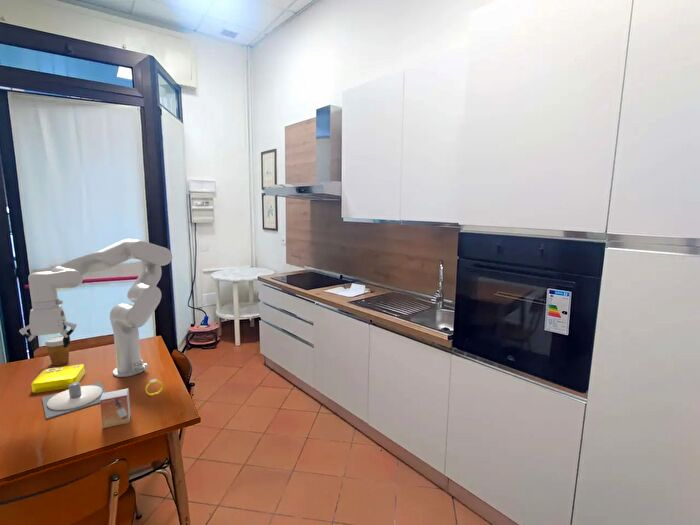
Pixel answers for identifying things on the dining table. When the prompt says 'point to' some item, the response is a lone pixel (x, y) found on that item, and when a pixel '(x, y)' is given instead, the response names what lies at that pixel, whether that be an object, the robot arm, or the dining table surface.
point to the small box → (115, 408)
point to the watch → (153, 383)
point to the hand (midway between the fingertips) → (51, 348)
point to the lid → (74, 397)
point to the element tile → (57, 378)
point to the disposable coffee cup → (57, 350)
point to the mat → (55, 413)
